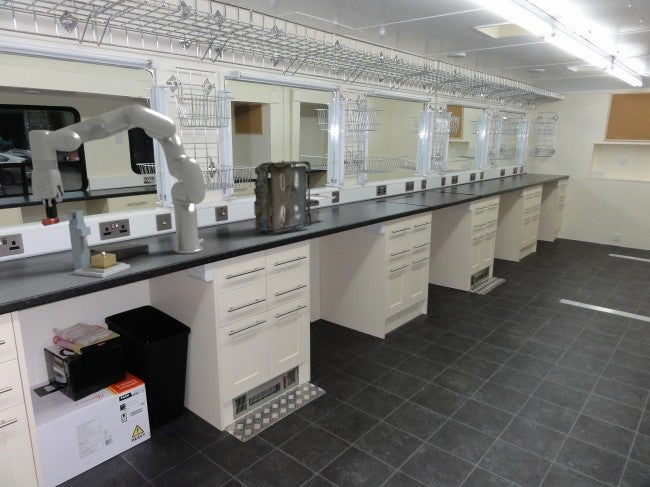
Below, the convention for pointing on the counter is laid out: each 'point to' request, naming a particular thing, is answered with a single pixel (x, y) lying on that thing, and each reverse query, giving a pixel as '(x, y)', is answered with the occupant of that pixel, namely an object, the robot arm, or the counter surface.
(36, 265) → the counter surface
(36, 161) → the robot arm
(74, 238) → the press
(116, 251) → the stone block
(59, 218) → the lever
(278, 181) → the machinery component
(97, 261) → the housing
